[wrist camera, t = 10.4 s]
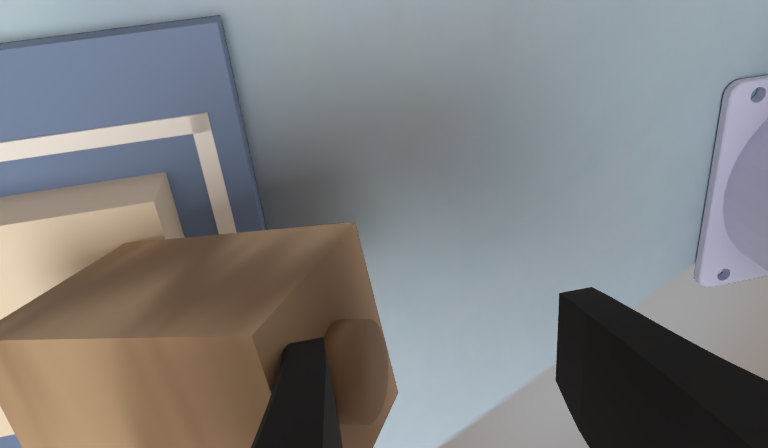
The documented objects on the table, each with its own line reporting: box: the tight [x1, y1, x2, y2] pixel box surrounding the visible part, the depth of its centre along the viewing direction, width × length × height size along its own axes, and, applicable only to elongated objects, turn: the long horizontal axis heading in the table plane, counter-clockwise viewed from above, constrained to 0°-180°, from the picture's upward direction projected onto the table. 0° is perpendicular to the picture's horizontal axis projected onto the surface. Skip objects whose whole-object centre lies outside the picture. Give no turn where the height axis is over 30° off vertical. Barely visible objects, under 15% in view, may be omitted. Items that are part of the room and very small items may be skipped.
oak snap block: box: [0, 222, 398, 448], centre depth 13 cm, size 4×4×7 cm
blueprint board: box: [0, 15, 266, 448], centre depth 18 cm, size 11×14×3 cm
